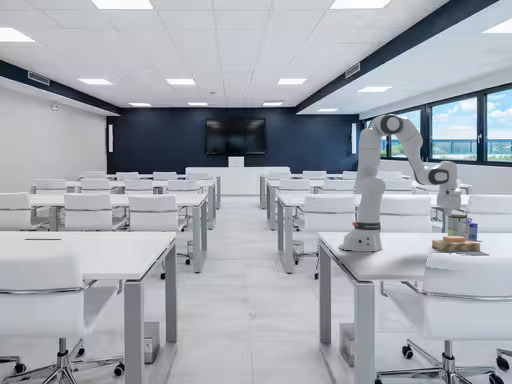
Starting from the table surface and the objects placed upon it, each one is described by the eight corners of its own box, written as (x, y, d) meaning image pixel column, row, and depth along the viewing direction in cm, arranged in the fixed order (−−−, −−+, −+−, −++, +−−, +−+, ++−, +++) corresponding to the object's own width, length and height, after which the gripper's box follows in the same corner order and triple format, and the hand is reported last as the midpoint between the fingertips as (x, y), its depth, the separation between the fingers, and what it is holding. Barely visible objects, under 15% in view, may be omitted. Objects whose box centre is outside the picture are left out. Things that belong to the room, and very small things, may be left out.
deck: (441, 251, 215) (441, 243, 215) (432, 247, 226) (432, 239, 226) (479, 250, 216) (480, 243, 215) (468, 246, 227) (468, 239, 226)
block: (448, 242, 219) (448, 238, 219) (443, 240, 225) (443, 236, 225) (465, 241, 219) (465, 238, 219) (459, 239, 225) (459, 236, 225)
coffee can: (450, 236, 258) (451, 213, 257) (468, 238, 251) (469, 215, 250) (444, 238, 250) (445, 215, 250) (463, 240, 243) (463, 216, 242)
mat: (453, 255, 205) (453, 255, 205) (443, 251, 215) (443, 250, 215) (489, 255, 206) (489, 254, 206) (477, 250, 216) (478, 250, 216)
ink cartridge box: (477, 245, 229) (478, 219, 228) (468, 246, 228) (469, 219, 227) (465, 242, 239) (465, 217, 238) (456, 242, 238) (457, 217, 237)
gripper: (433, 189, 238) (433, 213, 239) (451, 192, 218) (451, 218, 219) (444, 189, 239) (444, 213, 240) (463, 191, 218) (463, 218, 219)
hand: (447, 215), depth 229 cm, fingers closed
